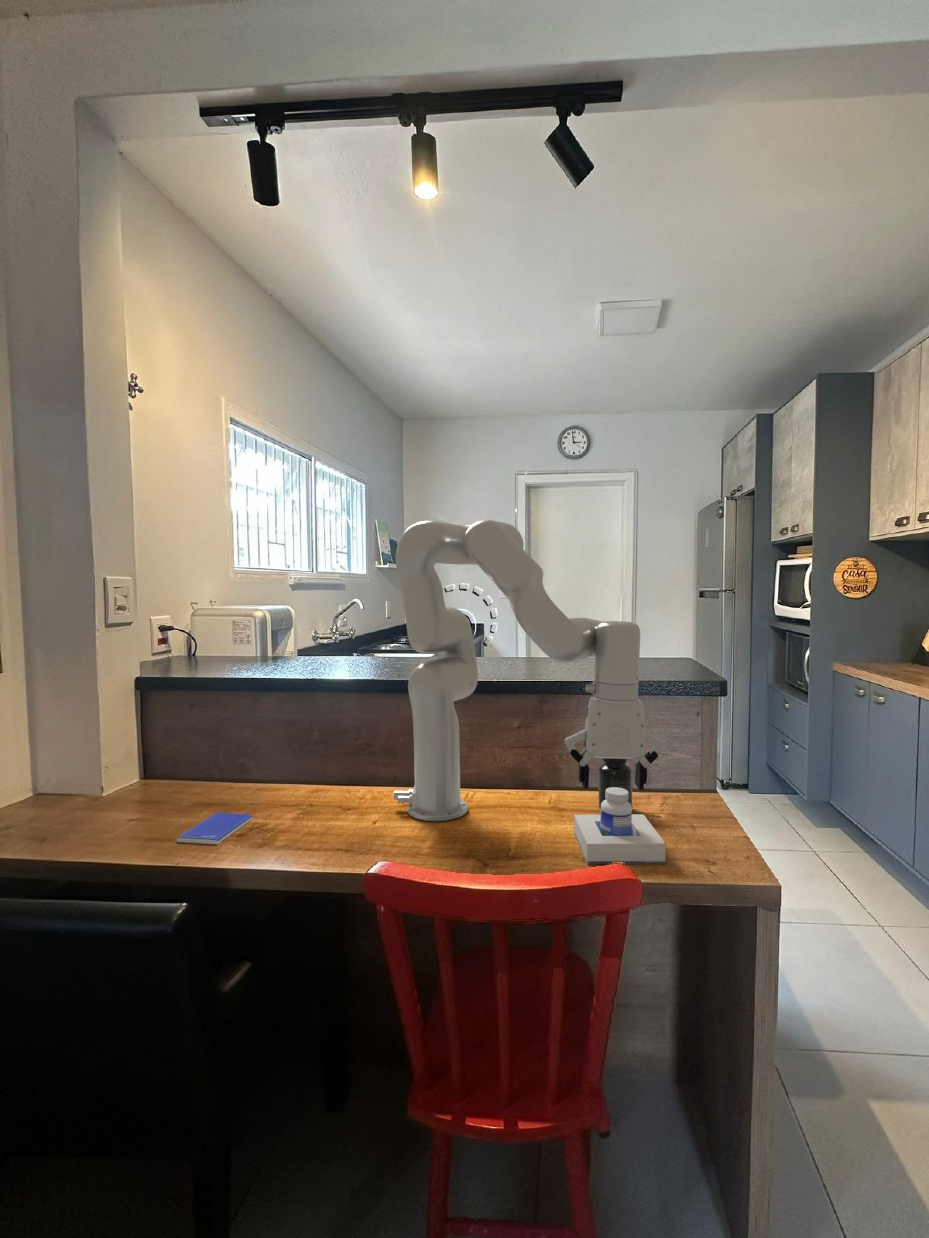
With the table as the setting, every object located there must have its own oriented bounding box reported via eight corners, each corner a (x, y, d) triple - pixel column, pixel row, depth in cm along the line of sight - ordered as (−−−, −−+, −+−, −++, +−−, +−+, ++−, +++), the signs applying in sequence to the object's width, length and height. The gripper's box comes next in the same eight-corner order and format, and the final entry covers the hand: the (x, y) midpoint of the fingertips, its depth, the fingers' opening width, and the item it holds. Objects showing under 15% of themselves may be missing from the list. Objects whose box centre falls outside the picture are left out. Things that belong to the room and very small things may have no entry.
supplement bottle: (629, 804, 129) (629, 748, 128) (635, 816, 122) (635, 757, 121) (596, 803, 130) (596, 748, 129) (600, 815, 123) (600, 757, 122)
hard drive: (217, 838, 111) (252, 814, 123) (177, 836, 112) (215, 812, 125) (217, 847, 111) (252, 821, 123) (177, 844, 112) (215, 819, 125)
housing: (587, 864, 101) (587, 843, 101) (574, 832, 114) (574, 814, 114) (665, 863, 101) (665, 843, 101) (643, 832, 114) (643, 814, 114)
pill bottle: (595, 838, 110) (596, 786, 109) (623, 836, 111) (624, 784, 110) (606, 851, 104) (607, 796, 104) (636, 849, 105) (637, 795, 105)
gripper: (569, 694, 103) (566, 793, 104) (672, 697, 102) (667, 795, 103) (563, 686, 110) (560, 778, 111) (658, 688, 110) (654, 781, 111)
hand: (612, 786), depth 107 cm, fingers open, 9 cm apart
